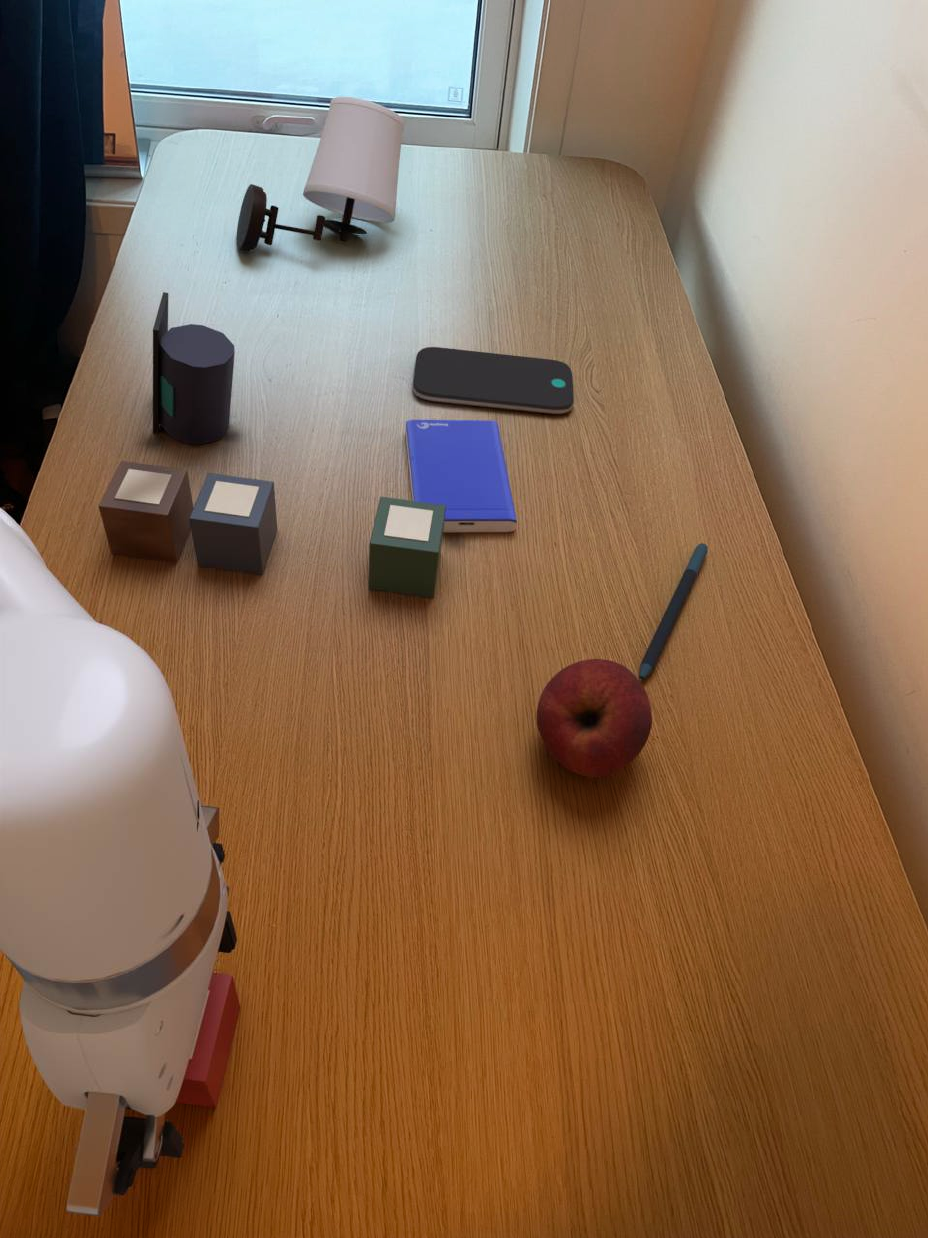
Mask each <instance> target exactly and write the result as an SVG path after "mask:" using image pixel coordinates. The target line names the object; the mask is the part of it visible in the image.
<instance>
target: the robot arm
mask: <svg viewBox="0 0 928 1238" xmlns="http://www.w3.org/2000/svg"><path fill="white" fill-rule="evenodd" d="M185 743H186V742H185V740H184V736H183V733H182V728H181V724H180V720H179V717H178V713H177V709H176V705H175V701H174V698H173V695H172V692H171V690H170V687H169V686H168V683H167V681H166V678H165V676H164V675H163V673H162V671H161V670H160V668H159V667H158V665H157V664H156V662H154V660H153V659H152V657H151V656H150V655H149V654H148V653H147V651H145V650H144V649H143V648H142V647H141V646H140V645H139V644H137V643H136V642H135V641H133V639H131V638H130V637H129V636H128V635H126V634H124V633H122V632H120V631H119V630H116V628H113V627H111V626H109V625H106V624H102V623H100V622H97V621H96V620H95V619H94V618H93V617H92V616H91V614H89V612H87V610H86V609H85V608H84V607H83V606H82V605H81V604H80V603H79V602H78V601H77V600H76V599H75V597H73V596H72V595H71V594H70V592H69V591H68V590H67V589H66V588H65V587H64V586H63V584H62V583H61V582H60V581H59V580H58V579H57V577H56V576H55V575H54V574H53V573H52V572H51V571H50V569H49V568H48V567H47V565H46V563H45V560H44V558H43V557H42V555H41V553H40V551H39V550H38V548H37V547H36V545H35V544H34V542H33V540H32V539H31V538H30V536H29V535H28V534H27V533H26V532H25V531H24V529H23V528H22V526H20V525H19V523H17V522H16V520H15V518H13V517H12V516H11V515H9V514H8V513H7V512H6V511H5V510H4V509H3V508H2V507H0V951H1V952H2V953H3V955H4V956H5V957H6V958H7V959H8V961H9V962H10V963H11V965H12V966H13V967H14V968H15V970H16V971H17V973H18V974H19V975H20V976H21V978H22V979H23V983H22V987H21V991H20V997H19V1001H18V1002H19V1003H18V1006H19V1014H20V1021H21V1028H22V1031H23V1035H24V1039H25V1043H26V1046H27V1047H28V1048H27V1049H28V1052H29V1053H30V1056H31V1058H32V1060H33V1063H34V1065H35V1067H36V1069H37V1071H38V1072H39V1074H40V1076H41V1078H42V1079H43V1081H44V1083H45V1084H46V1086H47V1088H48V1089H49V1090H50V1092H51V1093H52V1094H53V1096H54V1097H55V1098H56V1099H57V1101H59V1103H60V1104H61V1105H63V1106H65V1107H69V1108H73V1109H76V1110H81V1111H84V1115H83V1120H82V1125H81V1130H80V1135H79V1140H78V1144H77V1151H76V1154H75V1160H74V1165H73V1171H72V1176H71V1180H70V1186H69V1191H68V1196H67V1201H66V1208H65V1209H66V1213H68V1214H74V1215H75V1214H76V1215H83V1216H89V1217H90V1216H91V1217H101V1216H102V1214H104V1212H106V1210H107V1209H108V1208H109V1206H111V1204H112V1203H113V1202H114V1199H115V1195H116V1196H125V1195H126V1194H127V1191H128V1190H129V1188H132V1187H133V1185H134V1182H135V1178H136V1175H137V1173H138V1170H139V1169H147V1170H154V1169H157V1167H158V1162H159V1159H160V1157H168V1158H176V1159H177V1158H178V1159H179V1158H180V1159H181V1158H182V1156H183V1152H184V1149H185V1143H184V1142H183V1141H184V1138H183V1137H182V1136H181V1134H180V1132H179V1131H178V1129H177V1127H176V1126H175V1125H174V1123H173V1122H171V1121H168V1120H166V1113H167V1112H168V1111H170V1110H171V1109H172V1107H174V1106H175V1104H176V1103H177V1102H176V1100H177V1097H178V1094H179V1091H180V1088H181V1085H182V1082H183V1079H184V1075H185V1072H186V1068H187V1065H188V1061H189V1058H190V1054H191V1051H192V1047H193V1043H194V1040H195V1036H196V1032H197V1029H198V1025H199V1021H200V1017H201V1014H202V1010H203V1006H204V1003H205V999H206V995H207V991H208V988H209V984H210V980H211V976H212V973H214V968H215V964H216V961H217V957H218V953H225V954H231V953H232V951H234V950H235V949H236V945H237V942H238V937H237V933H236V930H235V926H234V922H233V918H232V914H231V911H229V910H228V906H229V896H230V886H228V885H227V883H226V879H225V874H224V871H223V868H222V864H223V863H224V862H225V857H226V853H225V852H226V850H224V845H223V844H222V843H217V841H218V840H219V837H220V807H218V806H211V805H204V804H201V801H200V796H199V793H198V790H197V789H198V788H197V785H196V781H195V778H194V773H193V769H192V767H191V763H190V758H189V756H188V751H187V748H186V747H187V746H186V744H185ZM126 1109H127V1110H133V1111H135V1112H138V1113H140V1114H141V1115H144V1117H136V1116H127V1115H125V1113H126Z"/></svg>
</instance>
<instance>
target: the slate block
mask: <svg viewBox="0 0 928 1238" xmlns="http://www.w3.org/2000/svg"><path fill="white" fill-rule="evenodd" d="M193 507H194V508H193V510H192V513H191V515H190V518H189V520H190V526H191V529H190V532H191V535H192V542H193V548H194V553H195V559H196V565H197V567H205V568H212V569H219V570H221V569H222V570H227V571H234V572H241V573H250V574H256V575H263V574H264V572H265V569H266V566H267V563H268V559H269V556H270V553H271V551H272V547H273V544H274V540H275V538H276V535H277V531H278V519H277V505H276V494H275V483H274V481H270V480H263V479H256V478H249V477H242V476H233V475H227V474H219V473H214V472H213V473H212V472H208V473H207V474H206V477H205V479H204V481H203V484H202V486H201V489H200V491H199V493H198V496H197V499H196V501H195V503H194V505H193Z"/></svg>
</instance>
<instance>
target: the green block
mask: <svg viewBox="0 0 928 1238" xmlns="http://www.w3.org/2000/svg"><path fill="white" fill-rule="evenodd" d="M445 512H446V506H445V505H439V504H431V503H424V502H417V501H412V500H408V499H401V498H394V497H387V496H380V497H379V501H378V505H377V509H376V514H375V518H374V522H373V527H372V531H371V536H370V540H369V554H368V555H369V558H368V590H372V591H380V592H386V593H387V592H388V593H394V594H403V595H409V596H410V595H411V596H417V597H425V598H431V599H434V598H435V593H436V587H437V580H438V575H439V567H440V561H441V560H440V559H441V555H442V554H441V553H442V546H443V537H444V532H443V529H444V521H445Z"/></svg>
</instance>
